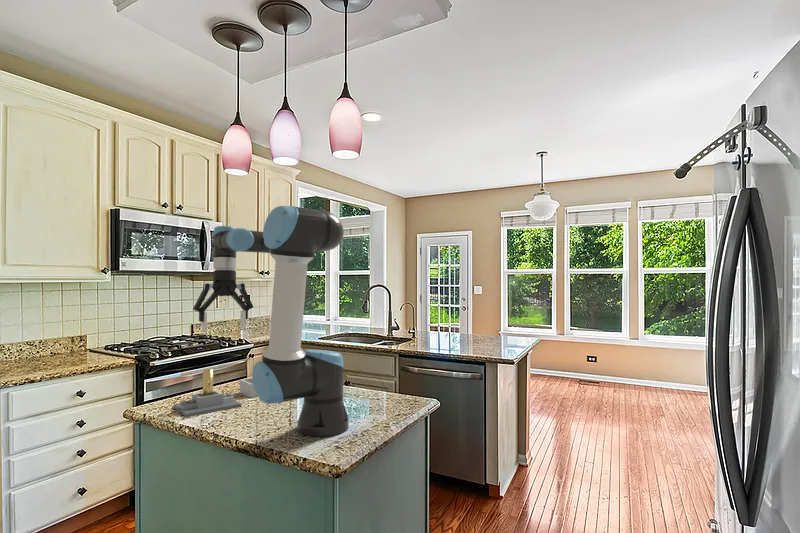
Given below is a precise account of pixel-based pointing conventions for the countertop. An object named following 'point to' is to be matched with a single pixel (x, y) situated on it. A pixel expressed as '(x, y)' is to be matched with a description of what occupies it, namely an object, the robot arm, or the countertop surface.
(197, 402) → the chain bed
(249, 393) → the tray
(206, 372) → the pin
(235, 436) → the countertop surface
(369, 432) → the countertop surface
